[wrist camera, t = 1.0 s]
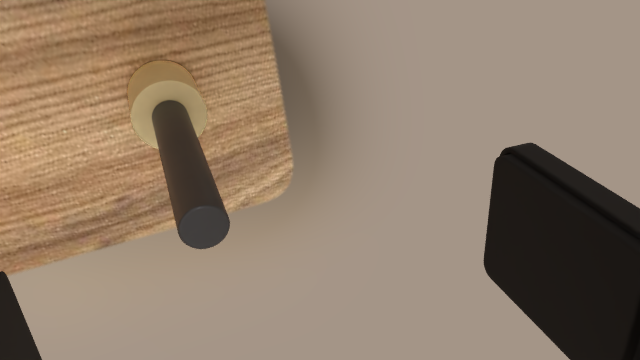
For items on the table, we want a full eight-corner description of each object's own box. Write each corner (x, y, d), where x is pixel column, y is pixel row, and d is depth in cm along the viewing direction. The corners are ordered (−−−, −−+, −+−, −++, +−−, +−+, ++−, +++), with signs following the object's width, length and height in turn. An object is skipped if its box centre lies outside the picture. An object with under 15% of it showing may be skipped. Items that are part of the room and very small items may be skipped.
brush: (168, 46, 34) (215, 158, 21) (210, 98, 36) (277, 229, 23) (111, 88, 34) (123, 226, 21) (157, 137, 36) (194, 290, 23)
